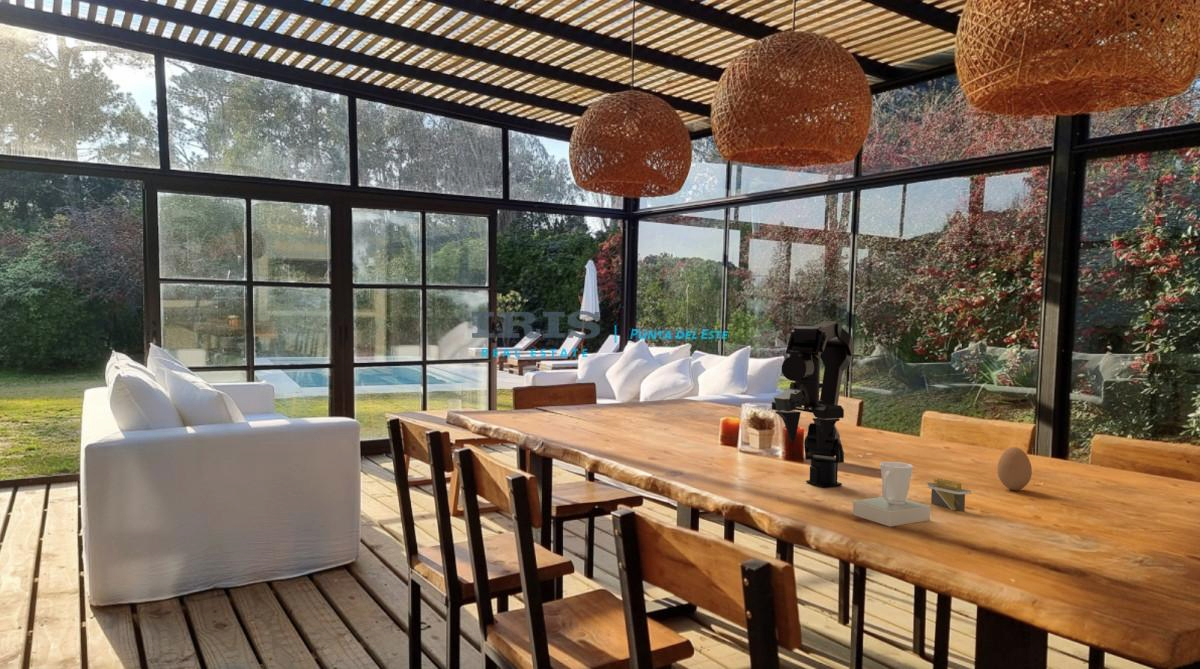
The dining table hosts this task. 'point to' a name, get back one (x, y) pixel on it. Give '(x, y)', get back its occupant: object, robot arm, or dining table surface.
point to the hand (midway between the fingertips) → (805, 444)
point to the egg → (1014, 469)
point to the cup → (895, 481)
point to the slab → (891, 511)
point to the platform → (948, 494)
